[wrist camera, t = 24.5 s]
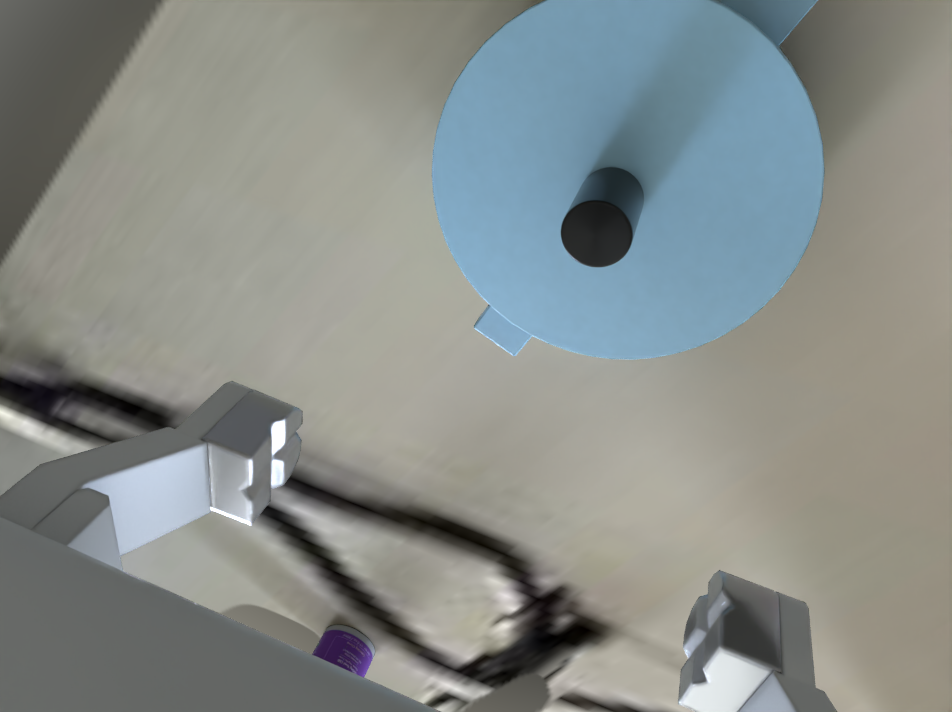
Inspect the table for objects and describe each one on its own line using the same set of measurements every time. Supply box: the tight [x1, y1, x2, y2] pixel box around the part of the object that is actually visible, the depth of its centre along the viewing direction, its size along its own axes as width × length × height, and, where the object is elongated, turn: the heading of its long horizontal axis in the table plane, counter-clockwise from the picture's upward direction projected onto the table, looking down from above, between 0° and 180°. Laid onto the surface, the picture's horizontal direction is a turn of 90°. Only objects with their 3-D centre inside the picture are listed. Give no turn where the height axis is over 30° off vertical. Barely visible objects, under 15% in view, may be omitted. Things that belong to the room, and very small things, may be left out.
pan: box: [474, 0, 818, 356], centre depth 28 cm, size 13×19×5 cm
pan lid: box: [432, 0, 825, 359], centre depth 25 cm, size 14×14×5 cm
